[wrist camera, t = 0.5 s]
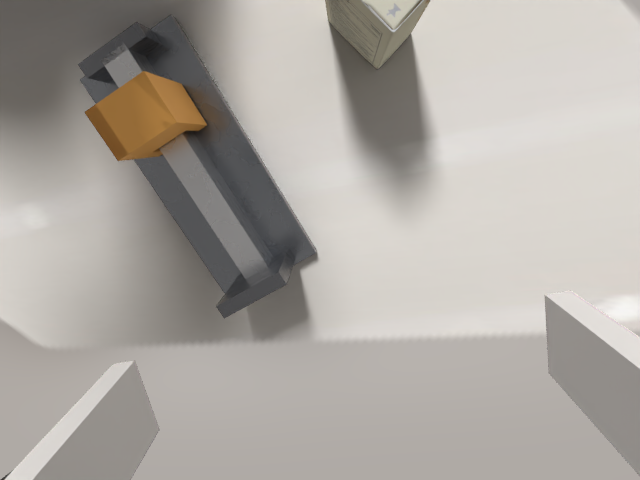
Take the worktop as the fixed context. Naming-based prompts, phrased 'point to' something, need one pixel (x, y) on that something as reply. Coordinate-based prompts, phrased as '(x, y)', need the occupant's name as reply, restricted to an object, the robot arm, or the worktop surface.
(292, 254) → the rail
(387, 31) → the skincare box
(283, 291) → the worktop surface
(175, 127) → the orange slider block
